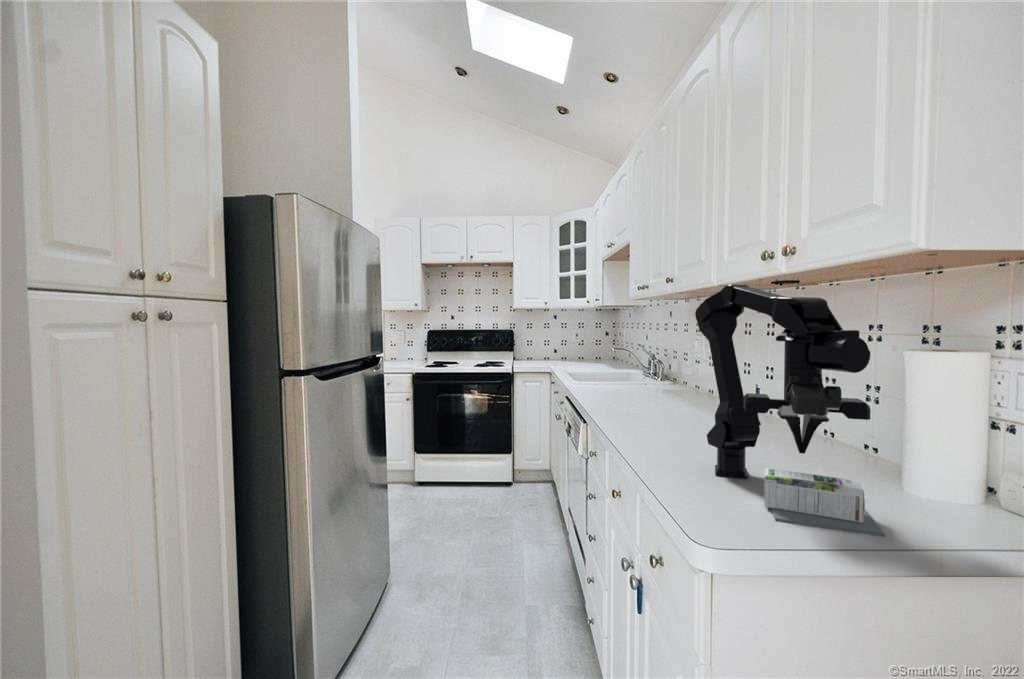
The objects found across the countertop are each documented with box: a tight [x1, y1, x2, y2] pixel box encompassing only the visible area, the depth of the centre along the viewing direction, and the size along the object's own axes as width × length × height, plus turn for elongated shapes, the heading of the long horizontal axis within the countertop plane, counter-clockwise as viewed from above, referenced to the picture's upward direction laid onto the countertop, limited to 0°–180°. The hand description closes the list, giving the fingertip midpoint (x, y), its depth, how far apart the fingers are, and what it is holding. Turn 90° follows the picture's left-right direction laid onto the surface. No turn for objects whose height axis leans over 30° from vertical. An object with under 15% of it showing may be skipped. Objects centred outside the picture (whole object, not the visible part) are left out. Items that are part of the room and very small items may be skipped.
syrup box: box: [763, 467, 866, 523], centre depth 80 cm, size 6×6×14 cm
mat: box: [771, 508, 886, 537], centre depth 81 cm, size 16×15×1 cm
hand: (801, 452), depth 82 cm, fingers closed
